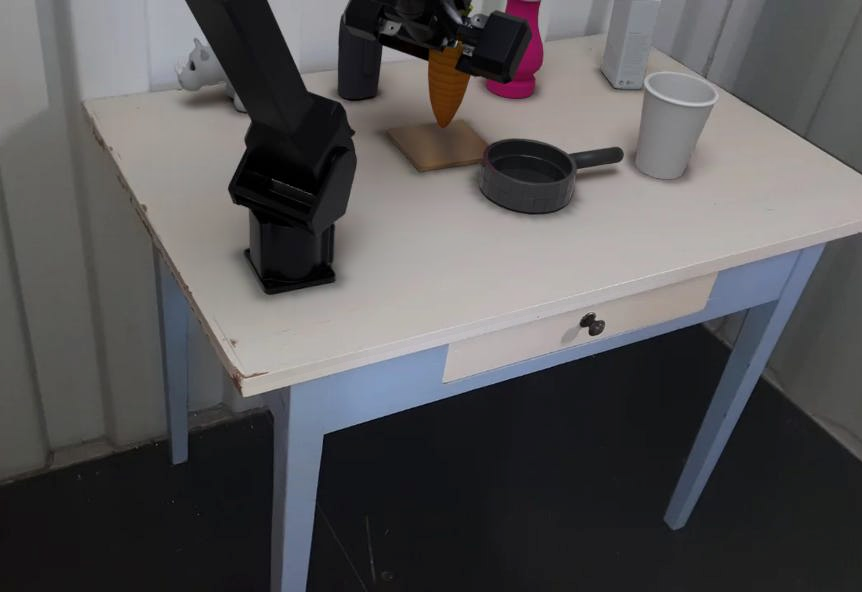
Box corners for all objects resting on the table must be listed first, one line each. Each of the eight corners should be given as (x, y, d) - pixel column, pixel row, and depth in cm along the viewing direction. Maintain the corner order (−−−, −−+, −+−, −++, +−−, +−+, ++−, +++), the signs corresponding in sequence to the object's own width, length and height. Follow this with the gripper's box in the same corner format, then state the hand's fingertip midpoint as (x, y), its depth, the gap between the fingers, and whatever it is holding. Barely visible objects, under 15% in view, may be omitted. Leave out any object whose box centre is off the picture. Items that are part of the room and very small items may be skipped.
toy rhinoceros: (169, 94, 106) (163, 21, 100) (272, 86, 111) (271, 16, 105) (184, 122, 101) (178, 47, 96) (291, 113, 106) (291, 41, 101)
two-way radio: (370, 85, 114) (378, -38, 105) (389, 100, 112) (399, -25, 102) (331, 92, 111) (335, -35, 102) (349, 107, 109) (355, -21, 100)
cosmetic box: (642, 90, 125) (665, 1, 117) (611, 89, 123) (633, -1, 116) (627, 70, 129) (648, -17, 122) (597, 69, 128) (616, -19, 120)
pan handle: (567, 174, 100) (570, 159, 99) (558, 166, 101) (561, 151, 100) (625, 164, 103) (628, 150, 102) (615, 157, 104) (619, 142, 103)
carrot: (468, 139, 101) (488, 3, 92) (423, 137, 100) (439, -1, 91) (460, 118, 105) (478, -14, 96) (417, 116, 104) (431, -18, 95)
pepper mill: (475, 76, 121) (496, -85, 108) (526, 76, 123) (553, -82, 111) (491, 101, 116) (516, -65, 103) (545, 100, 118) (575, -62, 105)
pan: (508, 221, 94) (513, 191, 92) (462, 173, 100) (466, 144, 98) (588, 206, 98) (595, 177, 96) (539, 161, 105) (545, 133, 103)
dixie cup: (640, 142, 112) (661, 64, 106) (704, 166, 109) (729, 87, 103) (612, 167, 106) (632, 85, 100) (679, 193, 103) (704, 111, 97)
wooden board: (419, 172, 99) (419, 167, 99) (384, 133, 105) (385, 128, 105) (499, 160, 104) (499, 155, 103) (461, 123, 110) (462, 119, 109)
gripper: (543, -65, 83) (564, 24, 98) (365, -114, 88) (411, -23, 103) (493, 44, 82) (522, 117, 97) (316, -12, 87) (369, 65, 102)
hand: (455, 65), depth 100 cm, fingers closed on carrot, 5 cm apart
